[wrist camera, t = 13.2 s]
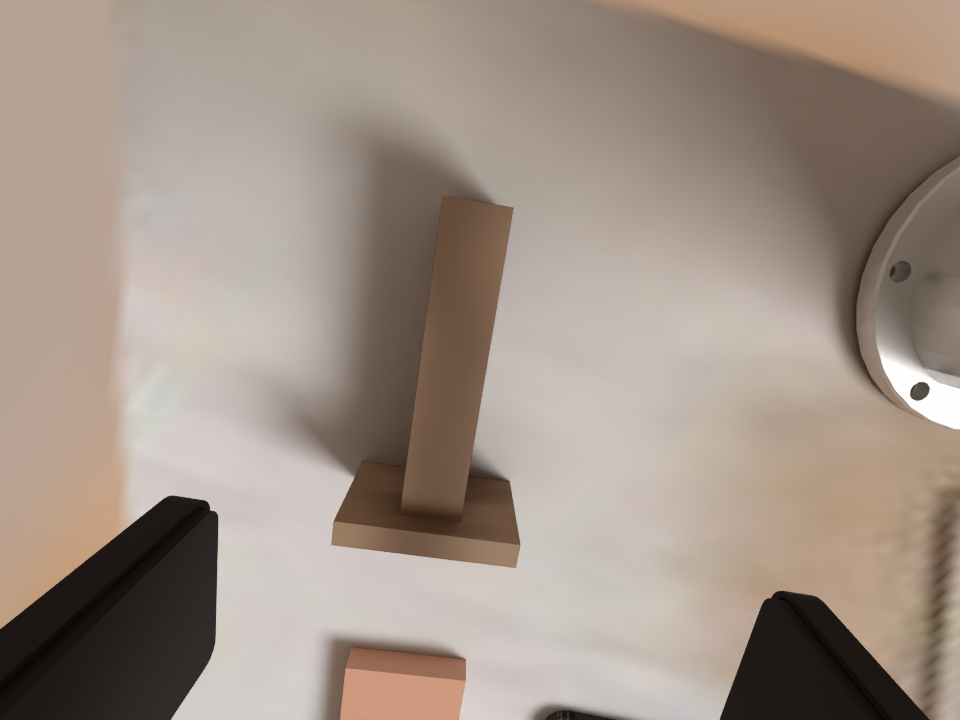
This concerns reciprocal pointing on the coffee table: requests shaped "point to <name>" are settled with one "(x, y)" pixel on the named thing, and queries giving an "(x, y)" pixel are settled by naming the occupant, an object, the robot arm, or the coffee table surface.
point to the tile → (402, 686)
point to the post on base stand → (445, 415)
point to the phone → (573, 716)
